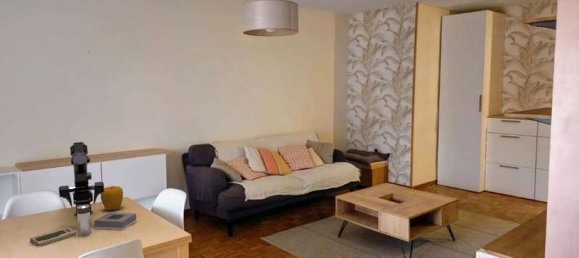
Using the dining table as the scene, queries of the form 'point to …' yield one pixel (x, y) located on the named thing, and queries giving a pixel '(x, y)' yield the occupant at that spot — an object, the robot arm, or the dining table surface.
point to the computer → (53, 236)
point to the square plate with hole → (115, 221)
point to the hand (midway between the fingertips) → (83, 204)
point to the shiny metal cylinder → (84, 220)
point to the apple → (112, 197)
